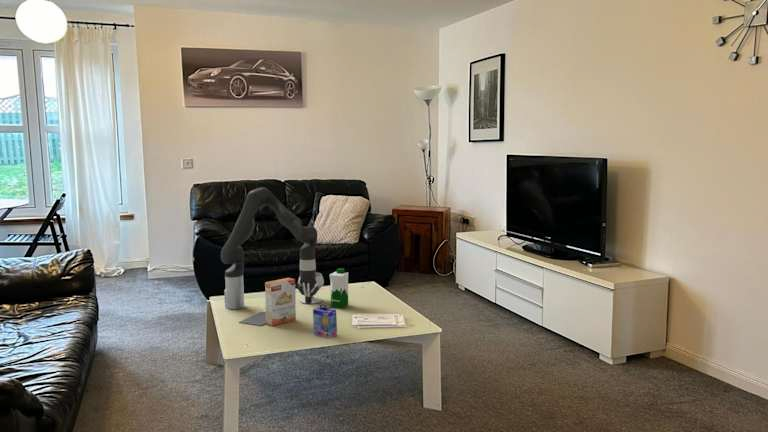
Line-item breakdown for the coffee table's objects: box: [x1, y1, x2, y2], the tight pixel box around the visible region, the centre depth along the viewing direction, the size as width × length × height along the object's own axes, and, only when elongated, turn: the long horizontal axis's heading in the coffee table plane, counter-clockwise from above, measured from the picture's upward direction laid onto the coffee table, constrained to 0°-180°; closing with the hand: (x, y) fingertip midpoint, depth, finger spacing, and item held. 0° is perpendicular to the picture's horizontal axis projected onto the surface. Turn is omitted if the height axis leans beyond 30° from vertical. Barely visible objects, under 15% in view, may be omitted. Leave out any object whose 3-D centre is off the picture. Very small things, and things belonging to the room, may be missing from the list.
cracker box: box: [264, 277, 297, 327], centre depth 279 cm, size 14×6×21 cm, turn 134°
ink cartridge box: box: [312, 304, 338, 339], centre depth 260 cm, size 10×6×14 cm, turn 58°
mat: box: [238, 311, 267, 327], centre depth 285 cm, size 13×18×1 cm
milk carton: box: [328, 267, 349, 310], centre depth 304 cm, size 9×9×20 cm
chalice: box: [297, 271, 325, 305], centre depth 315 cm, size 14×14×15 cm
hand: (308, 303), depth 272 cm, fingers closed
